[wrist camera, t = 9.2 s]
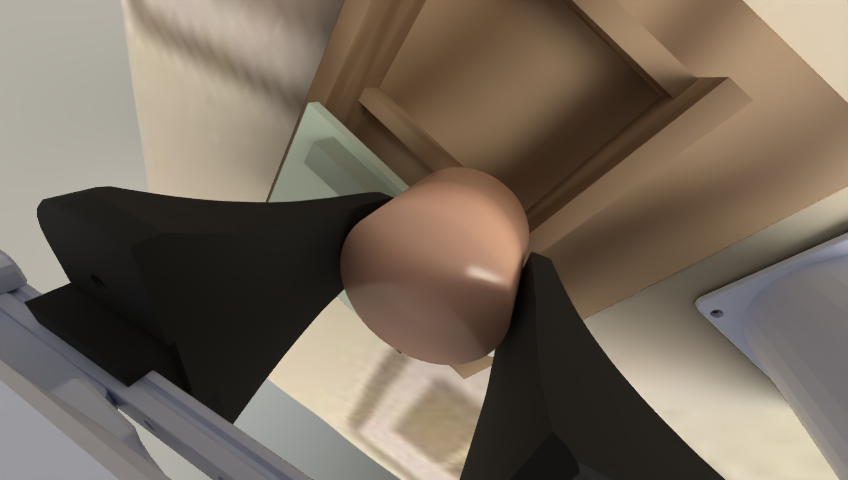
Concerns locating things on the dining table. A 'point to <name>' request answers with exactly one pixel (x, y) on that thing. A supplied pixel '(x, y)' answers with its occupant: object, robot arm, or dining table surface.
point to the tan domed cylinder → (439, 266)
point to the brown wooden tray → (594, 123)
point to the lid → (331, 165)
